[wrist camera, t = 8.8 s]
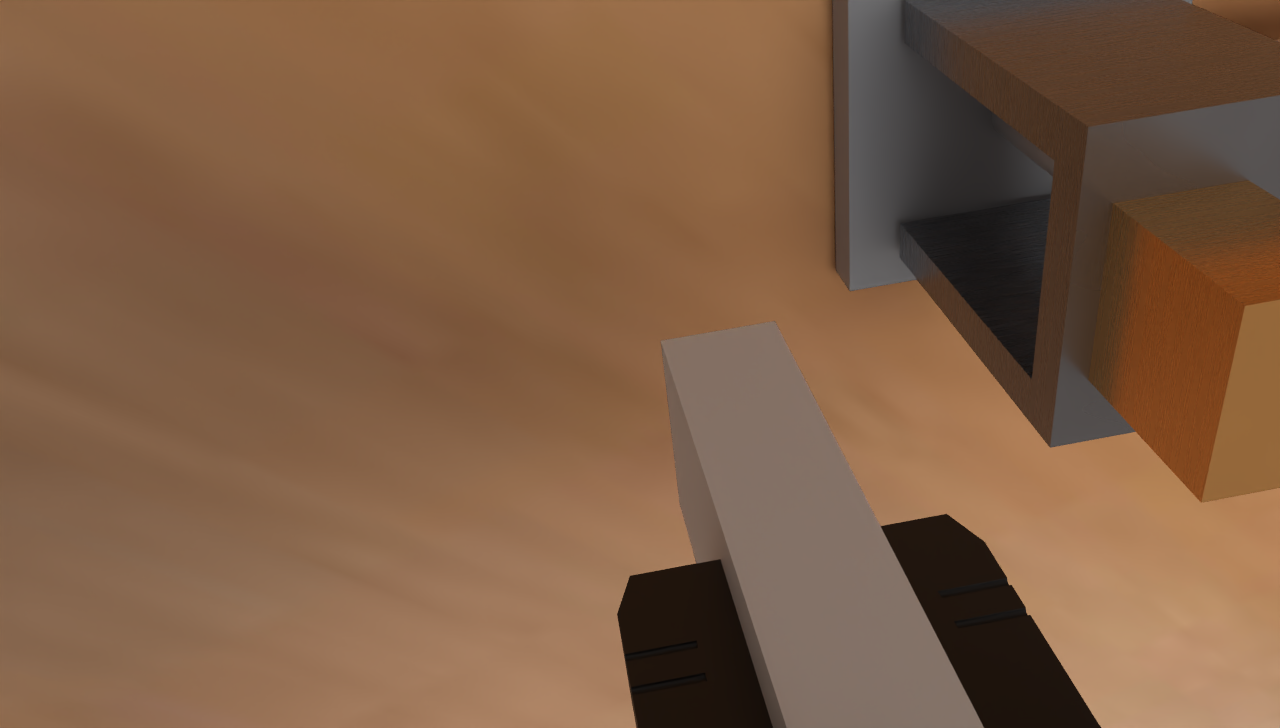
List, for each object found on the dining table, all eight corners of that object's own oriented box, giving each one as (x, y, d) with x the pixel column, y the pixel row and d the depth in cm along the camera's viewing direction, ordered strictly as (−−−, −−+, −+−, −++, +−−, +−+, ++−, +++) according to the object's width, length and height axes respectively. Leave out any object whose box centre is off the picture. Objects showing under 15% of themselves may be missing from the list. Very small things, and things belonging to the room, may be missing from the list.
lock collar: (899, 257, 23) (1151, 576, 15) (905, 0, 20) (1223, 219, 12) (1078, 226, 24) (1423, 522, 15) (1109, -32, 21) (1557, 162, 12)
